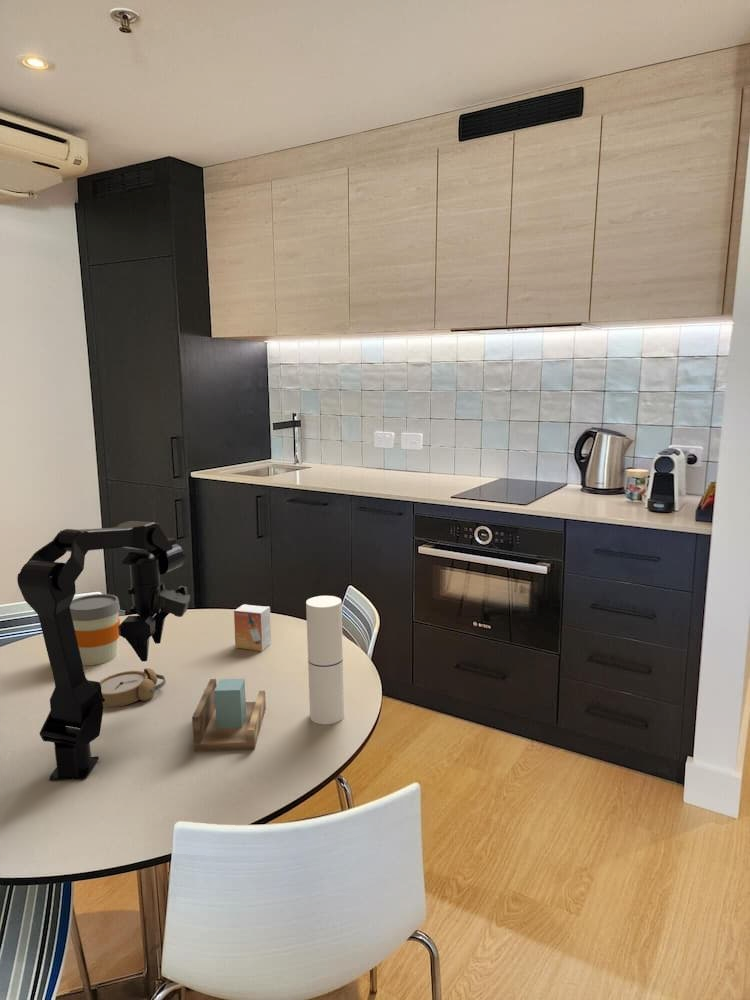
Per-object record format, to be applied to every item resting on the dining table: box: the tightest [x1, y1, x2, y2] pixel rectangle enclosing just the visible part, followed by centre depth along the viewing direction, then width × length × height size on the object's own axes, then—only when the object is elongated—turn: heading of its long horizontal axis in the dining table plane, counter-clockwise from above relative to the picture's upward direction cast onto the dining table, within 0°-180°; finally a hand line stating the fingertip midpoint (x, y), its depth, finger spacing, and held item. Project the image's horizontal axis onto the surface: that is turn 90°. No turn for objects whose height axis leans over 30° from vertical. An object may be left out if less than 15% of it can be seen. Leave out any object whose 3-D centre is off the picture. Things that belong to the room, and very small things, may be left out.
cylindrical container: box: [305, 595, 345, 725], centre depth 133 cm, size 7×7×25 cm
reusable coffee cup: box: [70, 593, 121, 666], centre depth 165 cm, size 13×13×15 cm
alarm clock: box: [98, 667, 166, 708], centre depth 146 cm, size 11×5×15 cm
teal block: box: [214, 678, 247, 728], centre depth 130 cm, size 5×5×8 cm
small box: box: [233, 603, 272, 652], centre depth 171 cm, size 8×6×10 cm
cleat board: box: [191, 678, 267, 752], centre depth 131 cm, size 16×11×7 cm
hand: (151, 651), depth 137 cm, fingers open, 9 cm apart
